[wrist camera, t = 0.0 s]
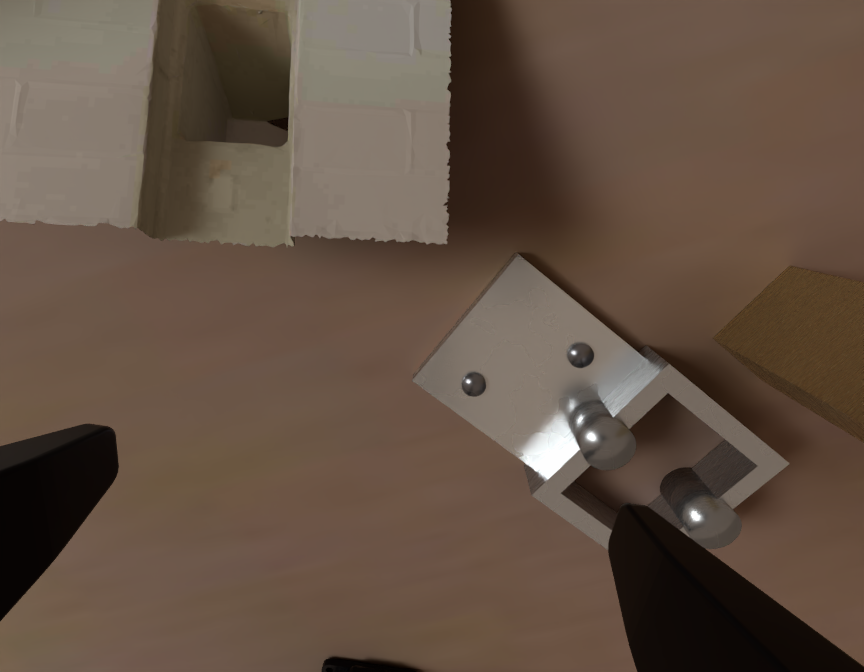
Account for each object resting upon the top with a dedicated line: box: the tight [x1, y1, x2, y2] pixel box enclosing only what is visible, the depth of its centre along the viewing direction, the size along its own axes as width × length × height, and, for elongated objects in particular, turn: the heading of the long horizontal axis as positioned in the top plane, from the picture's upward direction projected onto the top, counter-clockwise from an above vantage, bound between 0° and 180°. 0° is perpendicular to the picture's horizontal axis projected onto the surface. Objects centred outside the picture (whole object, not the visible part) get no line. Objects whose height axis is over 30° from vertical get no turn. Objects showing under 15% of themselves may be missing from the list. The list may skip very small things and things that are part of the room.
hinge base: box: [412, 252, 790, 550], centre depth 22 cm, size 17×9×3 cm, turn 52°
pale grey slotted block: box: [0, 0, 452, 247], centre depth 17 cm, size 16×9×15 cm
